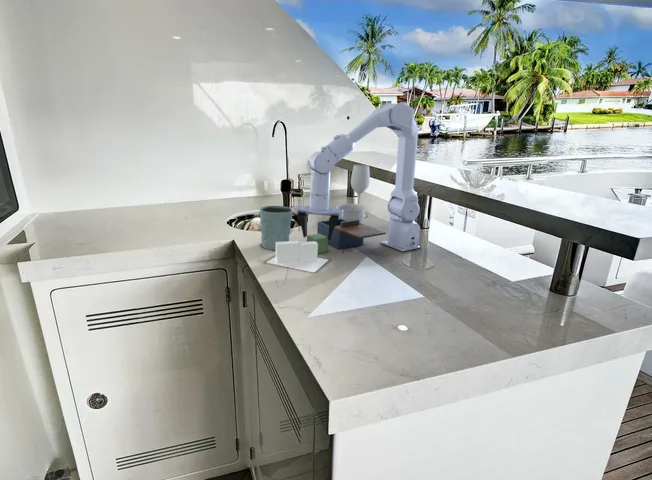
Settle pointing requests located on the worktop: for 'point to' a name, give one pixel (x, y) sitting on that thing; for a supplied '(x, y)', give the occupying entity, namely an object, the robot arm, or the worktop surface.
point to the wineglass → (360, 179)
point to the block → (319, 241)
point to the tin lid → (358, 229)
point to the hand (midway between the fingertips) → (317, 237)
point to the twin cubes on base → (298, 255)
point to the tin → (338, 236)
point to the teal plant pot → (275, 225)
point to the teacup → (352, 212)
